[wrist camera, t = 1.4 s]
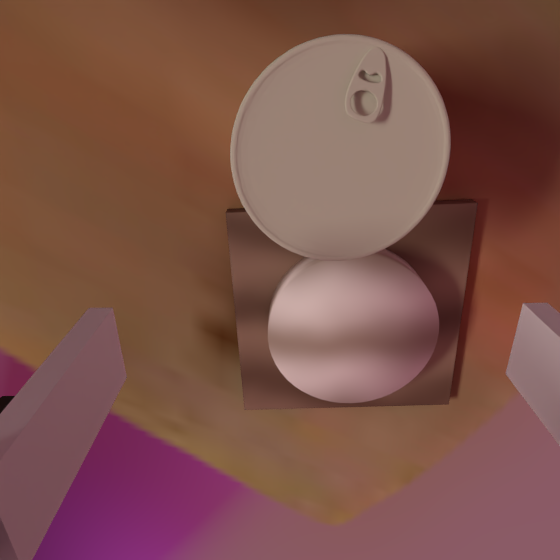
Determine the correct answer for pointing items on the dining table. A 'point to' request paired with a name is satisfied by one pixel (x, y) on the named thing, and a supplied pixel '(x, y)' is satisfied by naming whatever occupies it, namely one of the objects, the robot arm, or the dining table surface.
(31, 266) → the dining table surface
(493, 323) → the dining table surface
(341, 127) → the can
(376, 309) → the stand
